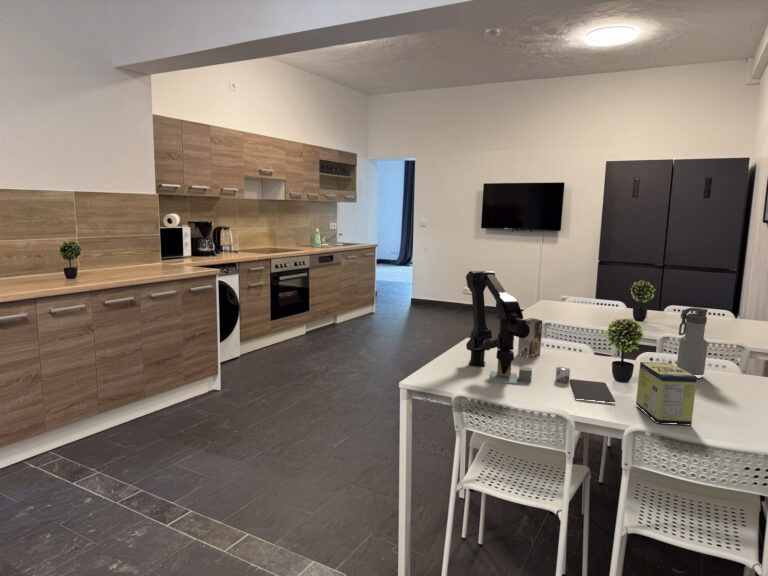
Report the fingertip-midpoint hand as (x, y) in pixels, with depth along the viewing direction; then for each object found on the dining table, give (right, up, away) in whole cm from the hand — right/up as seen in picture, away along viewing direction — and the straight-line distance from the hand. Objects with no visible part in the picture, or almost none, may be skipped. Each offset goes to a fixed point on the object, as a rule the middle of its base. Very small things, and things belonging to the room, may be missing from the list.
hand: (503, 371), depth 194 cm
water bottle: (+79, -4, +12) cm, 80 cm away
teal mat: (0, -3, 0) cm, 3 cm away
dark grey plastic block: (+8, -3, -1) cm, 9 cm away
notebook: (+29, -6, -12) cm, 32 cm away
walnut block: (0, -1, 0) cm, 1 cm away
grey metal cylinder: (+22, -4, -1) cm, 23 cm away
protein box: (+43, -9, -32) cm, 55 cm away
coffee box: (+20, +2, +36) cm, 42 cm away
